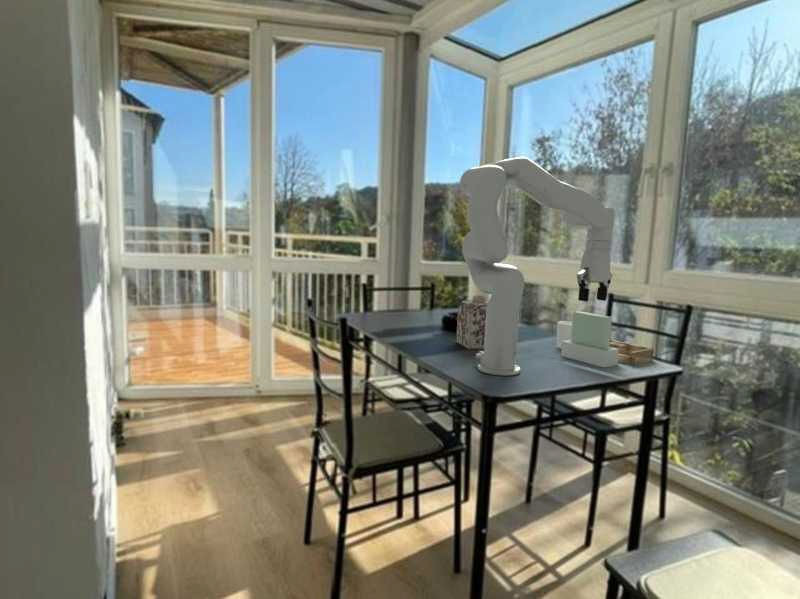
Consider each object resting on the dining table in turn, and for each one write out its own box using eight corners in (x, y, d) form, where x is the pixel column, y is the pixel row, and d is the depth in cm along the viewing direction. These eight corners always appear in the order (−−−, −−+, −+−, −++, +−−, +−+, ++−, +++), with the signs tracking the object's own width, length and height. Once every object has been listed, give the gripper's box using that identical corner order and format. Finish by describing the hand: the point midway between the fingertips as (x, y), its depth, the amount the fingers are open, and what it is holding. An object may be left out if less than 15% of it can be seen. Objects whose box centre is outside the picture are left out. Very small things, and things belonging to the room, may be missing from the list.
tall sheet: (569, 356, 176) (573, 311, 174) (575, 355, 178) (578, 311, 176) (601, 365, 167) (606, 317, 165) (607, 363, 168) (611, 317, 166)
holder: (560, 358, 177) (562, 341, 176) (573, 356, 181) (575, 339, 180) (604, 370, 164) (605, 351, 163) (617, 367, 168) (618, 348, 167)
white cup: (583, 352, 187) (585, 324, 186) (563, 353, 185) (566, 325, 184) (569, 347, 195) (571, 320, 193) (550, 348, 192) (552, 321, 191)
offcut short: (606, 348, 179) (607, 342, 179) (612, 347, 181) (612, 341, 180) (620, 351, 175) (621, 345, 175) (625, 350, 177) (626, 344, 176)
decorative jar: (485, 341, 200) (487, 293, 197) (498, 348, 188) (501, 298, 186) (455, 342, 196) (457, 293, 194) (466, 349, 185) (469, 298, 183)
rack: (582, 355, 182) (583, 341, 182) (603, 352, 189) (604, 338, 189) (632, 368, 168) (633, 352, 167) (652, 363, 175) (653, 348, 174)
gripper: (603, 246, 175) (597, 298, 178) (571, 244, 165) (565, 299, 167) (624, 248, 169) (618, 301, 172) (592, 246, 159) (586, 302, 161)
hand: (592, 300), depth 169 cm, fingers open, 9 cm apart
